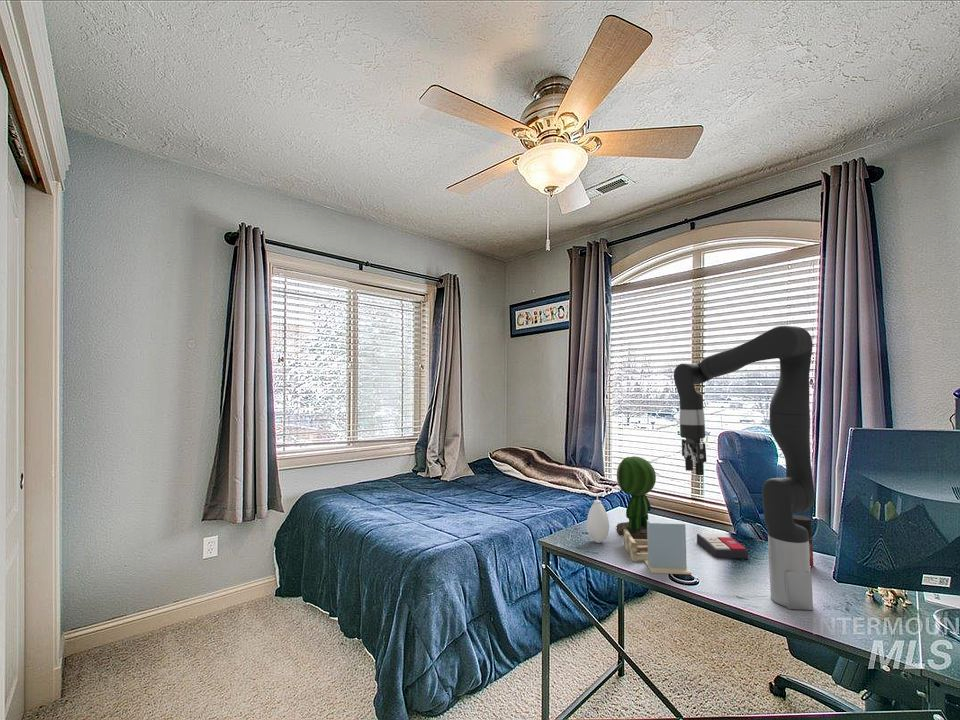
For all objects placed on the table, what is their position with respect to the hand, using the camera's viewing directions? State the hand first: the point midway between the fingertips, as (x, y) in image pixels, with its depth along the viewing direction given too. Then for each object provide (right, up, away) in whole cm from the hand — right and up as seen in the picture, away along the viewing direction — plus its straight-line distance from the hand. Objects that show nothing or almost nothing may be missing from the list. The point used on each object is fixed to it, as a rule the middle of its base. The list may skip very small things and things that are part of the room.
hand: (694, 472), depth 147 cm
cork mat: (-10, -30, -3) cm, 32 cm away
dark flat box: (+16, -32, +12) cm, 37 cm away
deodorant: (+35, -30, 0) cm, 47 cm away
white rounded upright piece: (-26, -32, +21) cm, 46 cm away
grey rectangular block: (-10, -30, -3) cm, 31 cm away
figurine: (-7, -32, +32) cm, 46 cm away
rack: (-10, -31, +9) cm, 34 cm away
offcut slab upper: (-11, -30, +8) cm, 32 cm away
